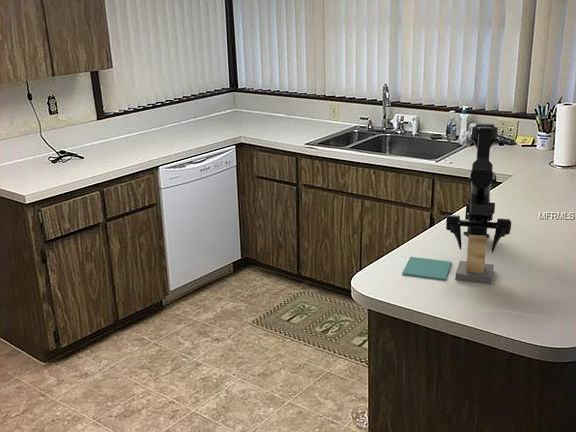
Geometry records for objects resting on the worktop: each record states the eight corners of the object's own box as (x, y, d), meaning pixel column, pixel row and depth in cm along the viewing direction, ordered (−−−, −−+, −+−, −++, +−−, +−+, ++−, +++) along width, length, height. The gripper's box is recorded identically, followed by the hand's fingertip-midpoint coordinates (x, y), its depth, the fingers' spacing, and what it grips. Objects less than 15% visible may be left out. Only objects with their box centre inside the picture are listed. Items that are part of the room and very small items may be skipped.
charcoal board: (459, 266, 198) (459, 260, 197) (493, 270, 194) (493, 264, 193) (455, 279, 189) (455, 273, 188) (490, 284, 185) (490, 278, 185)
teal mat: (410, 258, 204) (410, 256, 204) (451, 263, 200) (451, 261, 200) (402, 274, 193) (402, 272, 193) (445, 280, 188) (445, 278, 188)
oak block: (466, 264, 194) (468, 234, 190) (483, 266, 192) (486, 235, 189) (466, 271, 189) (468, 240, 186) (483, 273, 188) (486, 242, 184)
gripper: (448, 189, 191) (444, 237, 184) (513, 193, 186) (511, 242, 179) (448, 206, 200) (444, 251, 194) (510, 210, 195) (508, 257, 189)
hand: (476, 250), depth 189 cm, fingers open, 9 cm apart
